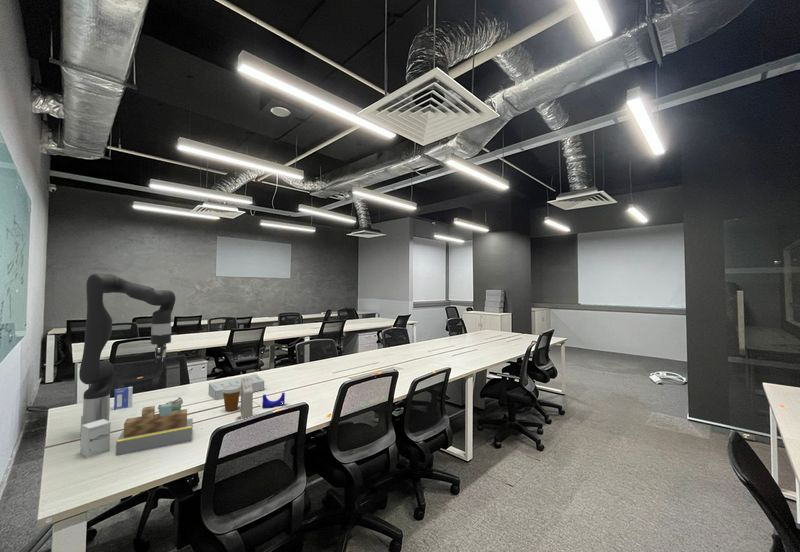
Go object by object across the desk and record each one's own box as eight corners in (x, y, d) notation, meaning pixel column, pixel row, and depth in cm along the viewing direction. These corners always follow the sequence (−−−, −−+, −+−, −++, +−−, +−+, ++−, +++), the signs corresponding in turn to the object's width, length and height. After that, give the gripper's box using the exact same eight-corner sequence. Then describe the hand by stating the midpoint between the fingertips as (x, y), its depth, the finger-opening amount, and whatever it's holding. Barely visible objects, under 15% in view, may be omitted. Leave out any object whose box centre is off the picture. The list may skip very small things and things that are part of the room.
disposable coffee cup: (239, 410, 180) (240, 389, 180) (220, 412, 176) (221, 391, 177) (241, 404, 189) (241, 384, 189) (223, 406, 185) (223, 386, 186)
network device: (257, 430, 155) (257, 389, 155) (237, 434, 151) (237, 392, 151) (252, 412, 177) (253, 376, 178) (234, 415, 173) (235, 378, 173)
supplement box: (86, 460, 128) (87, 428, 129) (79, 455, 132) (80, 424, 132) (110, 451, 135) (111, 421, 135) (102, 447, 139) (103, 418, 139)
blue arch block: (262, 407, 185) (262, 397, 185) (263, 404, 189) (263, 394, 189) (284, 405, 188) (284, 395, 189) (284, 402, 193) (284, 392, 193)
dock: (115, 457, 131) (116, 441, 131) (122, 444, 141) (122, 430, 141) (191, 441, 144) (191, 427, 144) (192, 430, 154) (192, 417, 155)
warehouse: (215, 400, 196) (215, 388, 197) (208, 394, 207) (208, 383, 207) (264, 389, 218) (264, 378, 218) (255, 384, 228) (256, 374, 228)
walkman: (114, 411, 178) (114, 389, 178) (114, 410, 180) (114, 388, 180) (132, 407, 184) (133, 386, 184) (132, 406, 186) (132, 385, 186)
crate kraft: (141, 419, 139) (141, 410, 139) (143, 416, 142) (143, 407, 142) (153, 417, 141) (153, 408, 141) (154, 414, 144) (154, 405, 144)
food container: (167, 426, 159) (167, 406, 160) (157, 425, 161) (157, 405, 161) (188, 416, 172) (188, 397, 172) (178, 415, 173) (179, 396, 173)
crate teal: (159, 416, 142) (160, 407, 142) (161, 413, 145) (161, 404, 145) (170, 414, 144) (171, 405, 144) (171, 411, 147) (172, 403, 147)
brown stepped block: (123, 437, 135) (124, 423, 135) (126, 432, 140) (126, 418, 140) (186, 426, 146) (186, 412, 146) (186, 421, 151) (187, 408, 151)
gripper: (153, 331, 153) (152, 365, 152) (148, 335, 140) (147, 372, 140) (172, 330, 156) (171, 364, 156) (169, 334, 144) (168, 370, 144)
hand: (160, 368), depth 148 cm, fingers open, 8 cm apart
